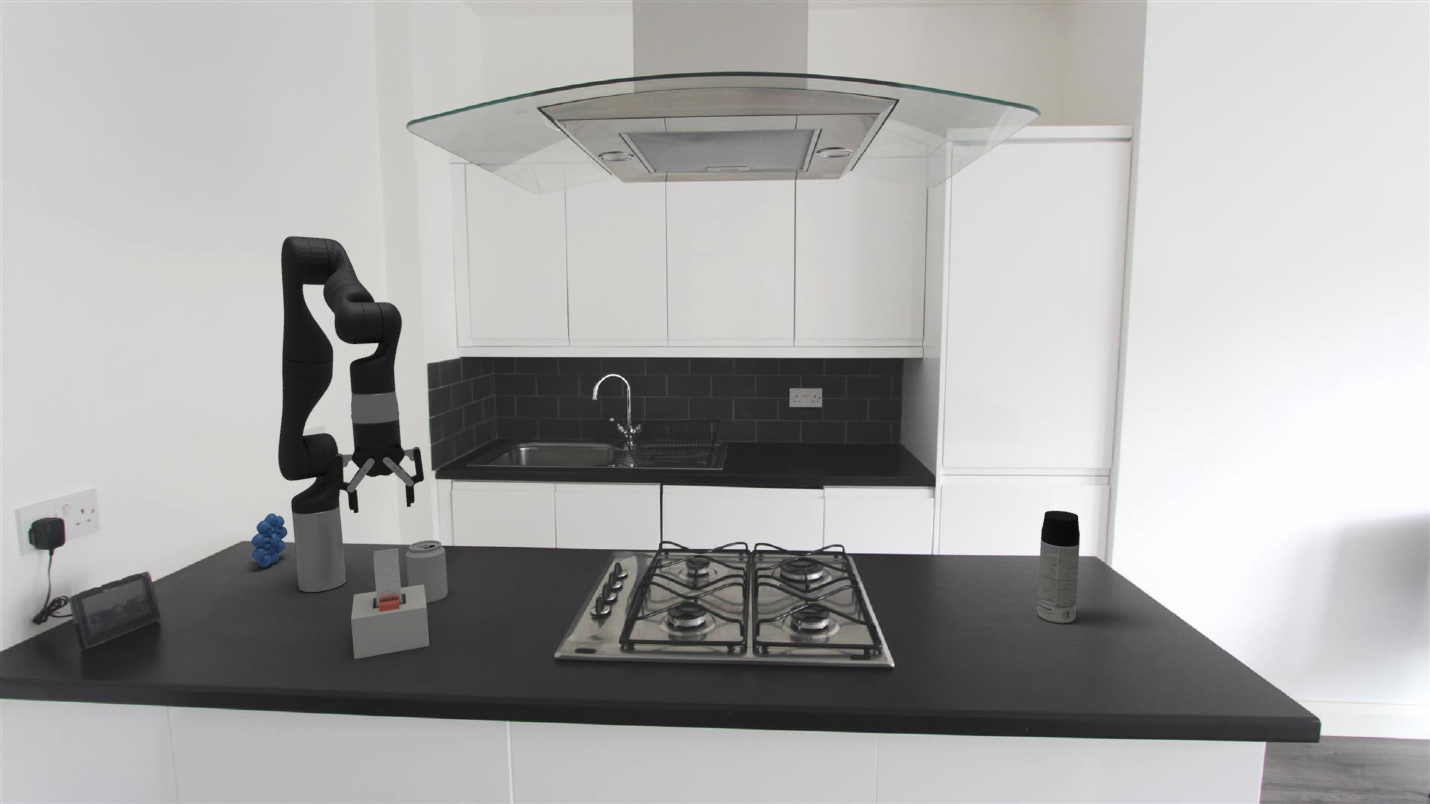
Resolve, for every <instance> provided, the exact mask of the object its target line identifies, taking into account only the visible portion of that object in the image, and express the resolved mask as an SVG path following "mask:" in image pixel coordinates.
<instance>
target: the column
mask: <svg viewBox="0 0 1430 804" xmlns="http://www.w3.org/2000/svg"><path fill="white" fill-rule="evenodd" d="M373 567H374V569H373V571H374V580H375V592H376V597H377V599H376V608H379V602H386V601H392V600H399V605H401V604H403V595H401V588H402V584H401V572H400V571H401V570H400V569H401V568H400V558H399V548H398V547H396V548H395V547H394V548H389V549H380V550H375V551H373Z"/></svg>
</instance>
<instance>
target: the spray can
mask: <svg viewBox="0 0 1430 804" xmlns="http://www.w3.org/2000/svg"><path fill="white" fill-rule="evenodd" d="M1042 521H1043V522H1042V527H1041V529H1040V531H1041V533H1040V547H1039V548H1040V550H1039V551H1040V552H1039V571H1038V572H1039V573H1038V587H1037V588H1038V590H1037V593H1038V594H1037V615H1038V617H1039V618H1041V619H1042V620H1044V621H1046V622H1049V623H1053V624H1070V623H1073V622H1074V621H1075V619H1076V617H1077V615H1076V614H1077V613H1076V612H1077V597H1078V582H1079V581H1078V579H1079V578H1078V577H1079V563H1080V561H1079V560H1080V558H1079V557H1080V542H1081V541H1080V538H1081V537H1080V536H1081V532H1080V526H1079V525H1080V523H1079V515H1078V514H1076V513H1075V512H1070V511H1066V510H1065V511H1064V510H1047V511H1045V512H1044V516H1043V520H1042Z"/></svg>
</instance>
